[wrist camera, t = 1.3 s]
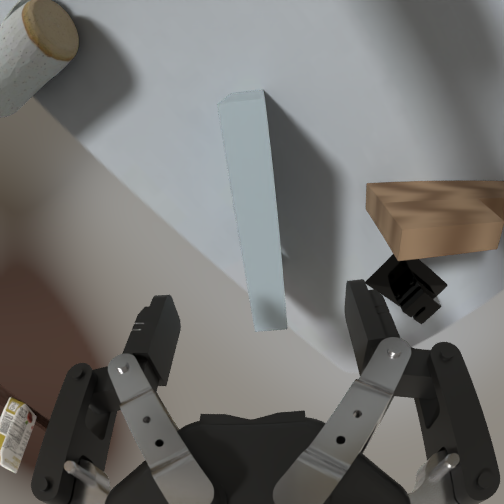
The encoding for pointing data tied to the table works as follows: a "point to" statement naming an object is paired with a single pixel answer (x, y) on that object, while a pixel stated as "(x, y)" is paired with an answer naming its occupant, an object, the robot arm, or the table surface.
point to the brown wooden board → (437, 216)
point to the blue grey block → (255, 204)
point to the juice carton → (14, 433)
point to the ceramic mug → (33, 50)
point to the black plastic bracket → (409, 286)
